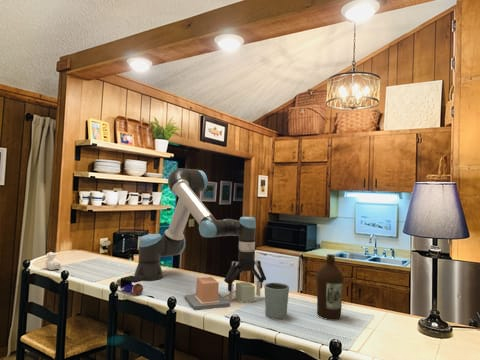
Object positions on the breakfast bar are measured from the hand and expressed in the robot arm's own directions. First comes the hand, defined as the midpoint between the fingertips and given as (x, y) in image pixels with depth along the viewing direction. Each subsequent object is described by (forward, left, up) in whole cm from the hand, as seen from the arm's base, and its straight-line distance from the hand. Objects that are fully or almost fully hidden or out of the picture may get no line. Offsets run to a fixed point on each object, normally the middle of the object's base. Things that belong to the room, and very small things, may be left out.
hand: (244, 296), depth 158 cm
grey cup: (+22, +4, -1) cm, 22 cm away
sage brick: (0, 0, -1) cm, 1 cm away
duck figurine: (-81, -86, -2) cm, 118 cm away
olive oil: (+29, +25, -1) cm, 38 cm away
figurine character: (-25, -48, -2) cm, 54 cm away
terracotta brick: (-1, -18, 0) cm, 18 cm away
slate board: (-1, -18, -1) cm, 18 cm away
